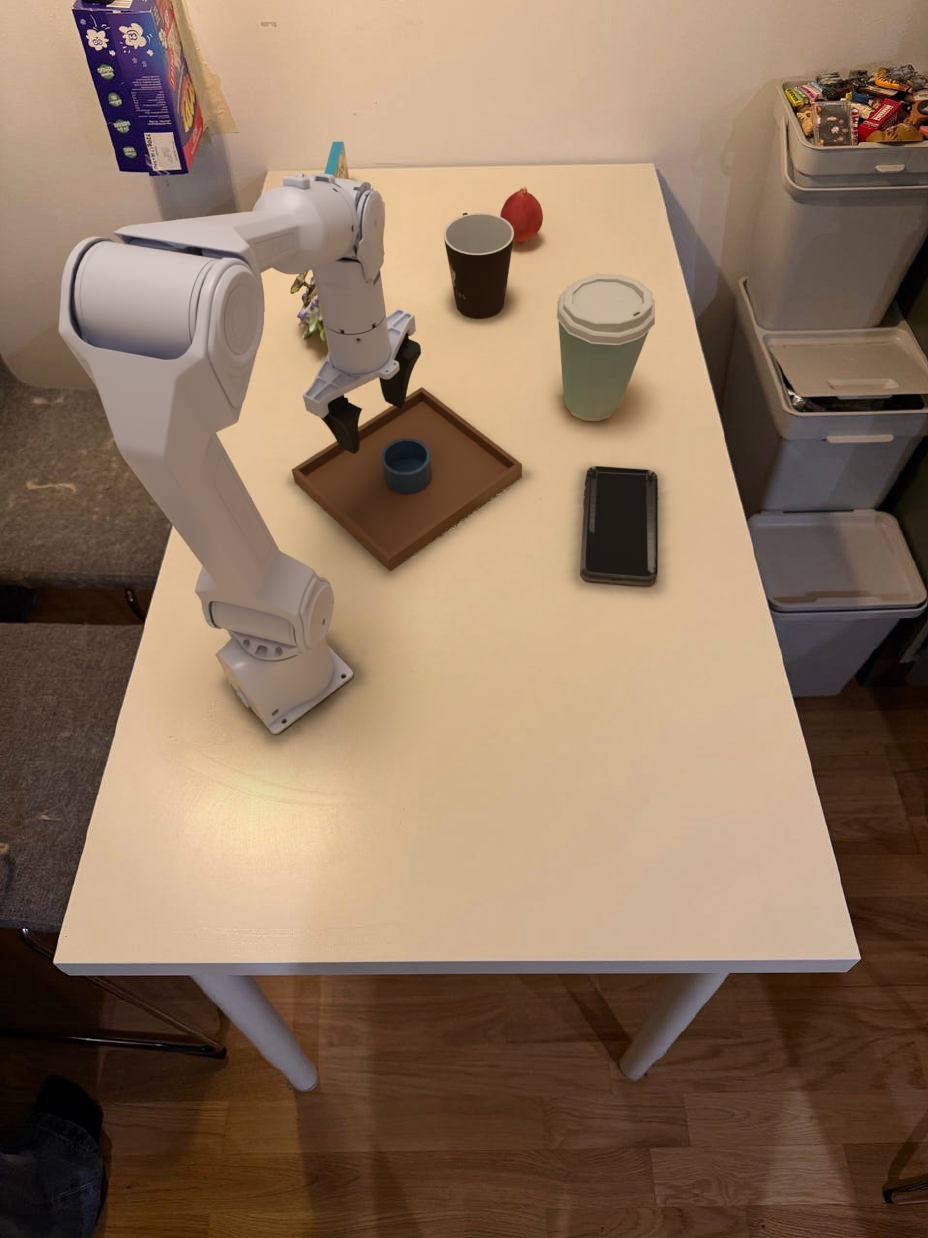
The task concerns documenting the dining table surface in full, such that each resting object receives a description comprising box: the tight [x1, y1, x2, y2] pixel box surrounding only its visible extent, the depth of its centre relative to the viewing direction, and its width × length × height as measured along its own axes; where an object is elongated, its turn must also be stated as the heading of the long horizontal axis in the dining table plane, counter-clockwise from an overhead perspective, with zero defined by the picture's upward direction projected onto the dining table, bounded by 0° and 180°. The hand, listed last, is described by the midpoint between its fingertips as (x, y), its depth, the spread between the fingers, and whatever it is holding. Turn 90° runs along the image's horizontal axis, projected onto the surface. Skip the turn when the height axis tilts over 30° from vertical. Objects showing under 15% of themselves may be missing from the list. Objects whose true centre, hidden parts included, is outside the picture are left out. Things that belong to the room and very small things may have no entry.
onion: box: [499, 186, 544, 244], centre depth 115 cm, size 6×6×8 cm
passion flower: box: [289, 271, 326, 344], centre depth 105 cm, size 11×11×12 cm
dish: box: [381, 438, 432, 494], centre depth 93 cm, size 5×5×3 cm
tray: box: [291, 386, 523, 572], centre depth 94 cm, size 19×17×2 cm
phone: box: [579, 465, 659, 587], centre depth 90 cm, size 8×1×15 cm
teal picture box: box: [323, 141, 350, 180], centre depth 122 cm, size 12×2×6 cm, turn 176°
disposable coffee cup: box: [555, 273, 656, 422], centre depth 94 cm, size 11×11×15 cm
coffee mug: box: [443, 212, 514, 320], centre depth 108 cm, size 12×9×10 cm
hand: (372, 425), depth 86 cm, fingers open, 7 cm apart
